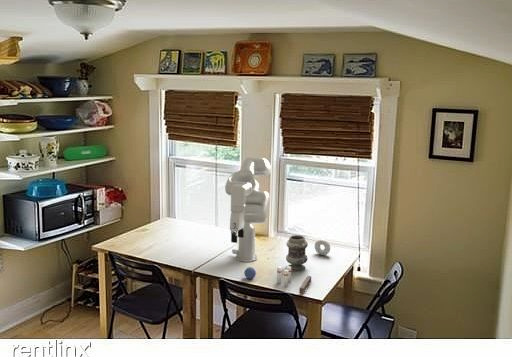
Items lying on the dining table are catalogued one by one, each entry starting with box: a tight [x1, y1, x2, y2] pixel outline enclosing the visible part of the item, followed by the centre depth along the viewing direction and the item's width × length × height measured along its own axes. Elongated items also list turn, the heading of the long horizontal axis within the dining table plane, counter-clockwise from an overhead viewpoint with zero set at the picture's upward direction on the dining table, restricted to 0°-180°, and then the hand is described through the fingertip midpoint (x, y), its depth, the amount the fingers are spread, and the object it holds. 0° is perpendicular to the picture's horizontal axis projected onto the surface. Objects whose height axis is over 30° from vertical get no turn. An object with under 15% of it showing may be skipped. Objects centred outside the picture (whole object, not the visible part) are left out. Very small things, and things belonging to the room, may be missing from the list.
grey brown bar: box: [298, 275, 312, 295], centre depth 250 cm, size 2×16×3 cm, turn 160°
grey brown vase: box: [285, 234, 309, 272], centre depth 273 cm, size 12×12×18 cm
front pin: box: [276, 266, 283, 285], centre depth 254 cm, size 2×2×8 cm
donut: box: [314, 238, 331, 256], centre depth 294 cm, size 10×4×10 cm, turn 57°
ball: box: [244, 266, 257, 280], centre depth 259 cm, size 6×6×6 cm
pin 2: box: [285, 265, 292, 284], centre depth 255 cm, size 2×2×8 cm
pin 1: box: [282, 269, 289, 288], centre depth 250 cm, size 2×2×8 cm
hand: (237, 239), depth 259 cm, fingers open, 9 cm apart
